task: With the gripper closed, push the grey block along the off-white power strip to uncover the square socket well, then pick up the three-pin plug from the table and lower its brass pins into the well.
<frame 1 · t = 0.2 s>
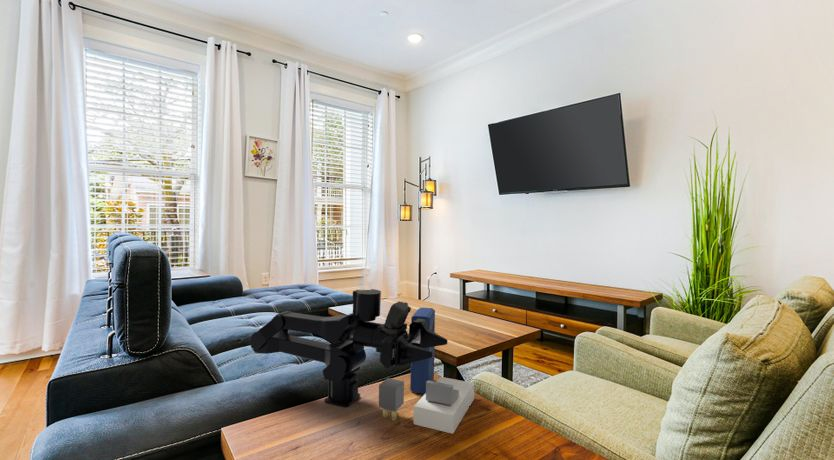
hand: (440, 348, 85), 17 cm above the table, tool horizontal, fingers open, 9 cm apart
power strip: (445, 410, 91), on the table
electronic device: (422, 386, 104), on the table
plug: (391, 416, 89), on the table
grey block: (442, 388, 89), point 6 cm above the table, slide at 0.0 cm
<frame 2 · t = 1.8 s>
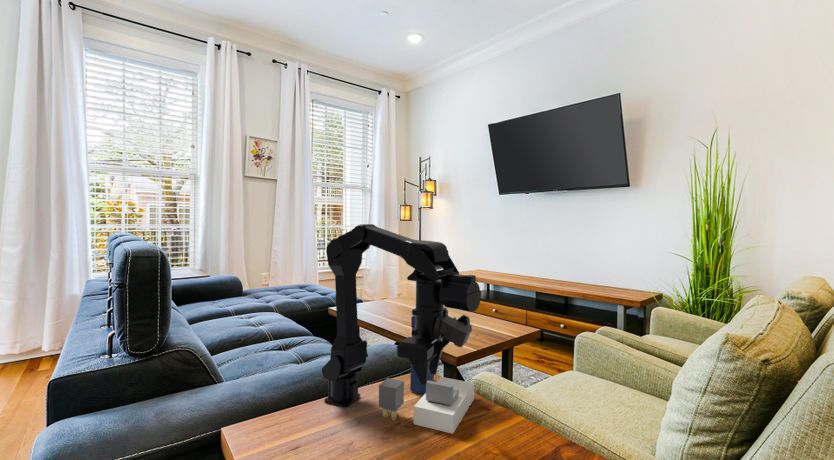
hand: (428, 379, 80), 12 cm above the table, tool pointing down, fingers open, 5 cm apart
nothing on the table moved.
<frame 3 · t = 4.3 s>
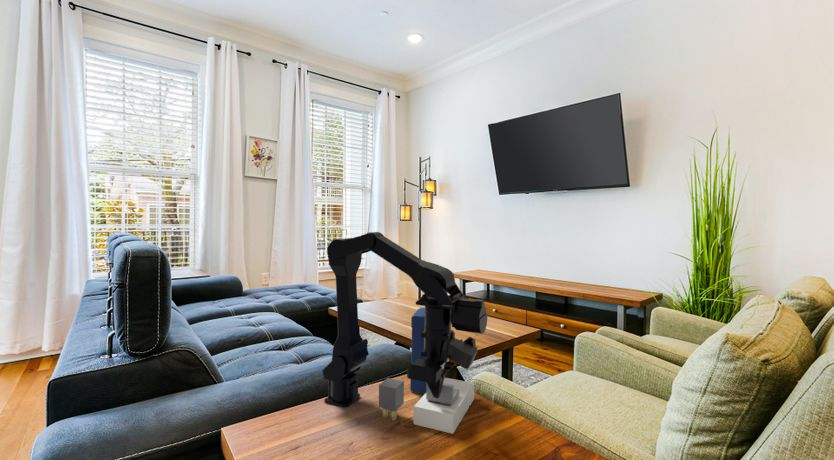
hand: (436, 397, 85), 6 cm above the table, tool pointing down, fingers closed
grey block: (443, 388, 89), point 6 cm above the table, slide at 0.3 cm, touching gripper
everything else where it was.
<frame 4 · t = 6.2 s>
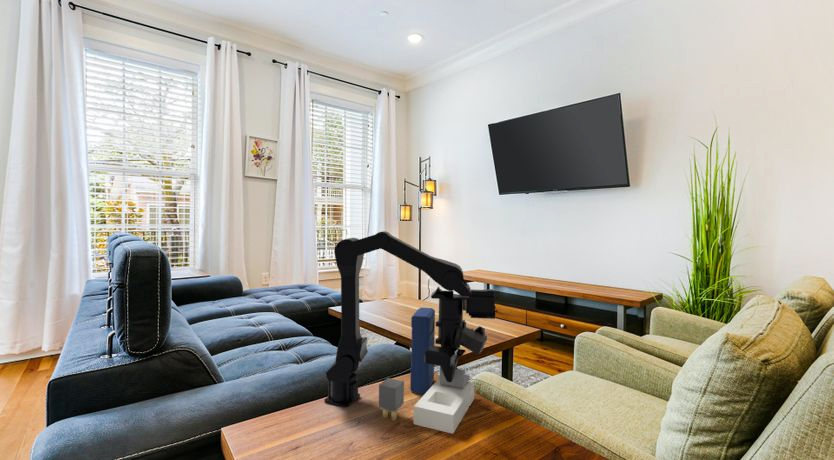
hand: (449, 381, 93), 6 cm above the table, tool pointing down, fingers closed
grey block: (454, 373, 97), point 6 cm above the table, slide at 9.1 cm, touching gripper
everything else where it was.
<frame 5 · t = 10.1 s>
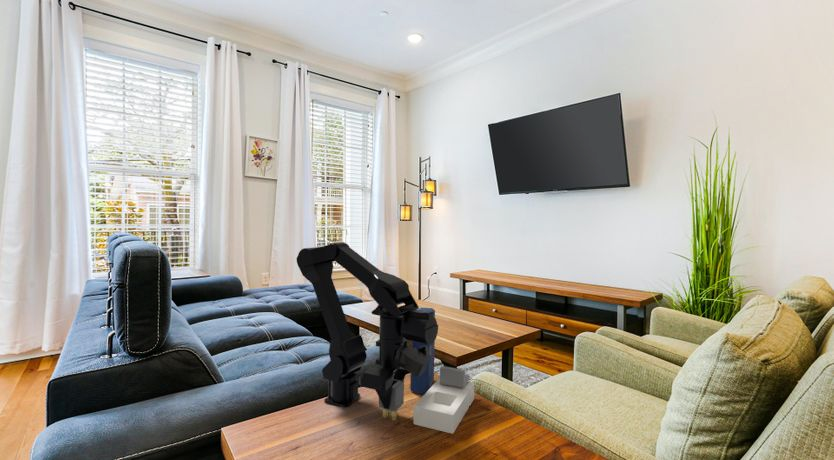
hand: (391, 403, 88), 3 cm above the table, tool pointing down, fingers closed on plug, 4 cm apart
plug: (391, 416, 89), on the table, touching gripper
grey block: (455, 373, 97), point 6 cm above the table, slide at 9.2 cm
everything else where it was.
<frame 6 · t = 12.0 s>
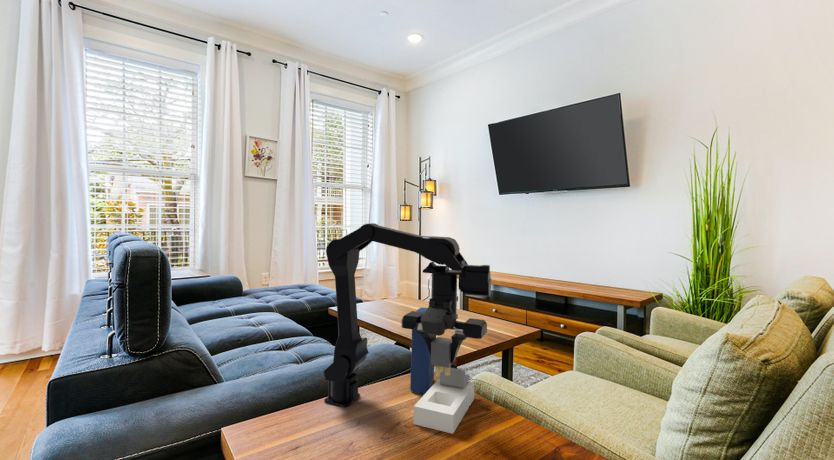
hand: (442, 361, 88), 13 cm above the table, tool pointing down, fingers closed on plug, 4 cm apart
plug: (442, 373, 88), point 10 cm above the table, touching gripper
everything else where it was.
when the fingers open (5 cm above the table, at t = 14.0 s): plug drops 1 cm, resting on power strip.
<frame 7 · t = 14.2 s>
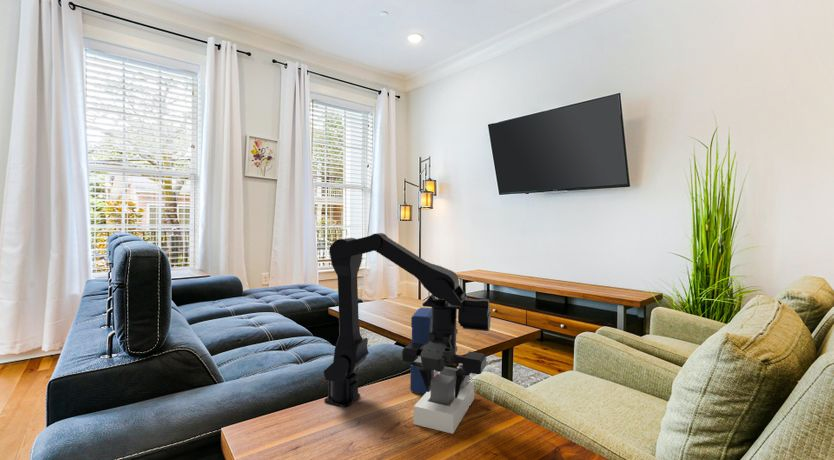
hand: (442, 394, 89), 5 cm above the table, tool pointing down, fingers open, 6 cm apart
plug: (442, 411, 89), point 1 cm above the table, touching power strip
everything else where it was.
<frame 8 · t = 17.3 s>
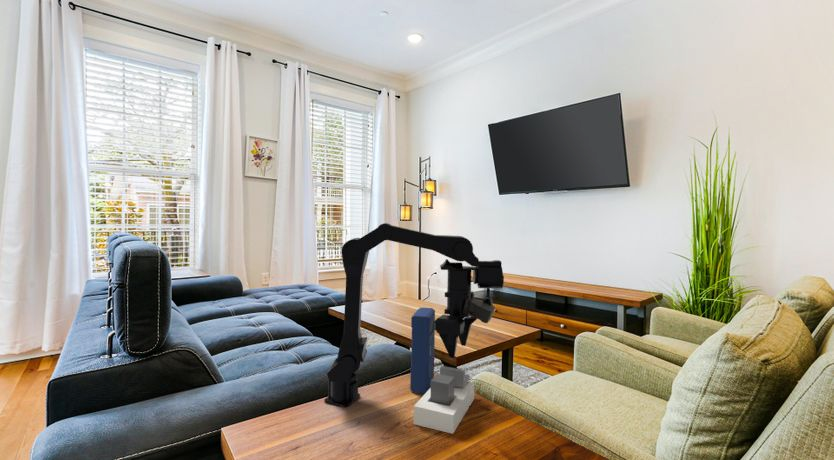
hand: (458, 351, 95), 12 cm above the table, tool pointing down, fingers open, 9 cm apart
nothing on the table moved.
at the end: plug 0.1 cm from the target spot, point 1.0 cm above the table; plug tilted 0°; grey block slide at 9.2 cm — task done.
